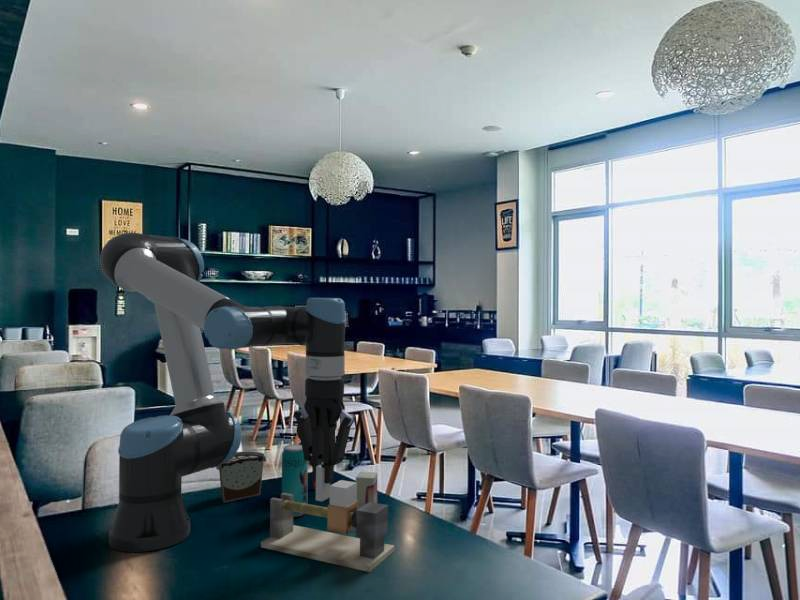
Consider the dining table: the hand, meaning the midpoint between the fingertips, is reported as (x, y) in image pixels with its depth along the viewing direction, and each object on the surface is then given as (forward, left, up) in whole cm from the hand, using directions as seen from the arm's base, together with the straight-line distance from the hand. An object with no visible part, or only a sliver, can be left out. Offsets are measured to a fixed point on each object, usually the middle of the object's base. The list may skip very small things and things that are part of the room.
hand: (322, 498), depth 115 cm
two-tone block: (+5, 0, -5) cm, 7 cm away
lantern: (-22, +30, -10) cm, 38 cm away
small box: (-3, +23, -10) cm, 25 cm away
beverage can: (-16, +13, -10) cm, 23 cm away
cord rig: (+1, 0, -10) cm, 10 cm away
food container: (-36, +17, -10) cm, 41 cm away
